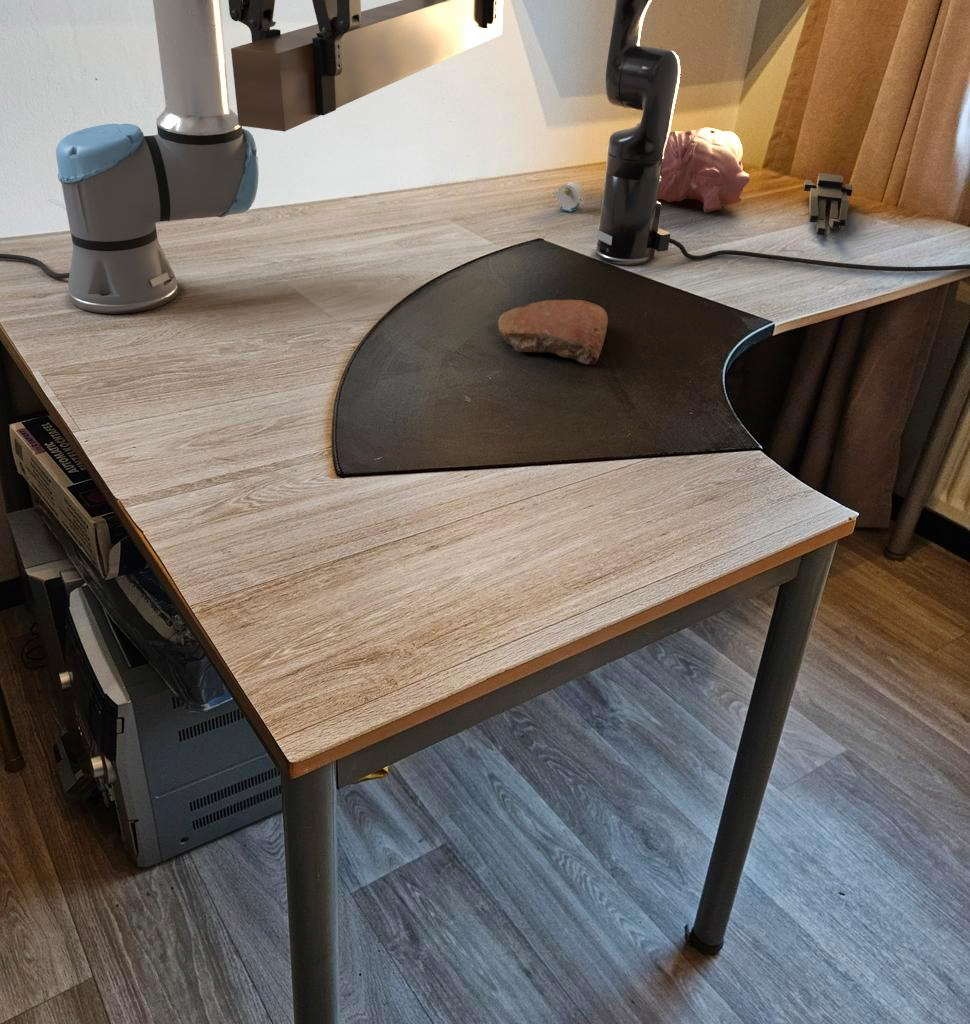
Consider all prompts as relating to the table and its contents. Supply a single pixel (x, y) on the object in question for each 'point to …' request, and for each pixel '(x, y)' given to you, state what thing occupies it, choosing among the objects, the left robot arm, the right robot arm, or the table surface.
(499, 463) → the table surface
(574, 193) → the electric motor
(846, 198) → the toy
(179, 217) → the left robot arm
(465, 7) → the bar
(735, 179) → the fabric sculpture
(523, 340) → the ceramic shard
